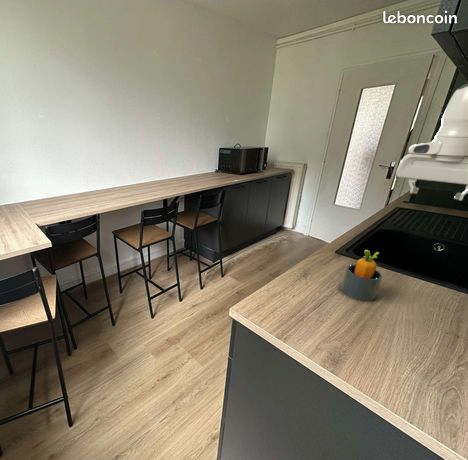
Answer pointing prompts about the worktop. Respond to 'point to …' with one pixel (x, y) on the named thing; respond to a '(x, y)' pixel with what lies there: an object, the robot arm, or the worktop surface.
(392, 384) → the worktop surface
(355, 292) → the tumbler
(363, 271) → the carrot
